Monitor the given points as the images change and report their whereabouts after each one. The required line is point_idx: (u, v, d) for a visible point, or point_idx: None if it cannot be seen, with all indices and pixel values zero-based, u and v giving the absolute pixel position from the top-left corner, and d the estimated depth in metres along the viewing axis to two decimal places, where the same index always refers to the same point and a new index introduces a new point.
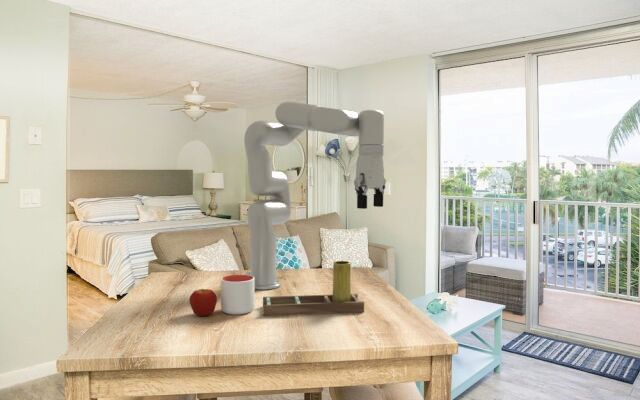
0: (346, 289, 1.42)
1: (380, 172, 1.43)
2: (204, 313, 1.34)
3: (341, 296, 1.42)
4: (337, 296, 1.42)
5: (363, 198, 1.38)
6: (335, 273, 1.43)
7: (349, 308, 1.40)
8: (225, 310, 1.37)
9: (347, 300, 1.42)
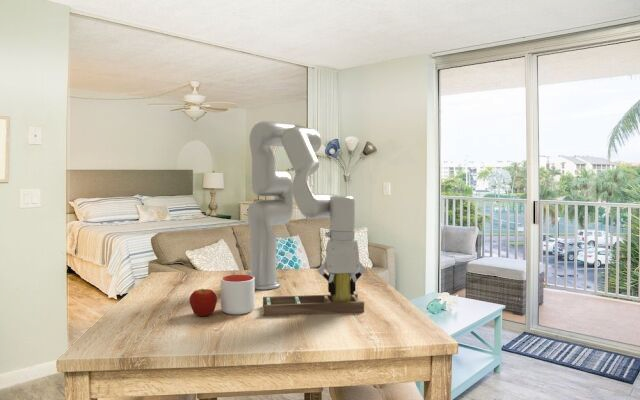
0: (346, 289, 1.42)
1: None
2: (204, 313, 1.34)
3: (341, 296, 1.42)
4: (337, 296, 1.42)
5: None
6: None
7: (349, 308, 1.40)
8: (225, 310, 1.37)
9: (347, 300, 1.42)
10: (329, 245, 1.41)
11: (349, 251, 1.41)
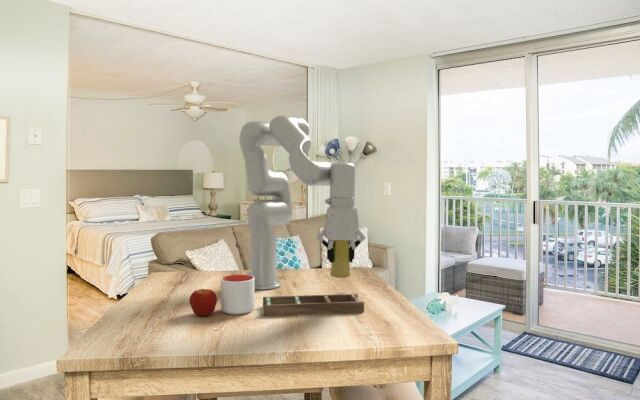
0: (345, 256, 1.42)
1: None
2: (204, 313, 1.34)
3: (340, 263, 1.42)
4: (336, 263, 1.42)
5: None
6: None
7: (349, 308, 1.40)
8: (225, 310, 1.37)
9: (346, 267, 1.42)
10: (329, 212, 1.40)
11: (349, 218, 1.41)
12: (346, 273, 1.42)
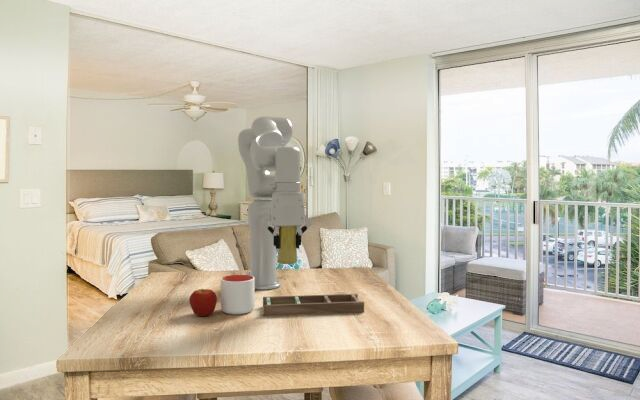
0: (291, 242, 1.39)
1: None
2: (204, 313, 1.34)
3: (286, 249, 1.39)
4: (282, 249, 1.39)
5: None
6: None
7: (349, 308, 1.40)
8: (225, 310, 1.37)
9: (292, 253, 1.39)
10: (273, 197, 1.38)
11: (294, 203, 1.38)
12: (293, 259, 1.39)
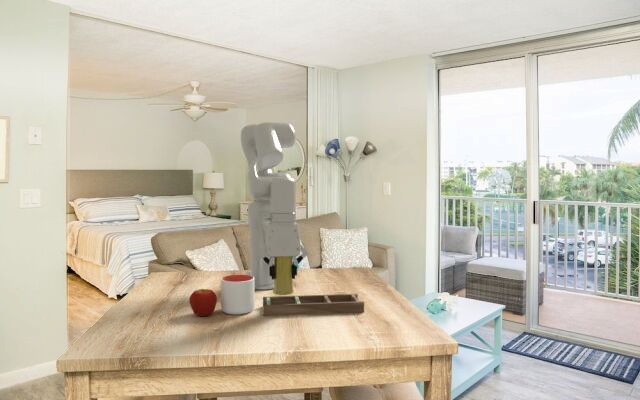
0: (287, 273, 1.39)
1: None
2: (204, 313, 1.34)
3: (281, 280, 1.39)
4: (277, 280, 1.39)
5: None
6: None
7: (349, 308, 1.40)
8: (225, 310, 1.37)
9: (288, 284, 1.39)
10: (269, 228, 1.38)
11: (289, 234, 1.38)
12: (288, 290, 1.39)
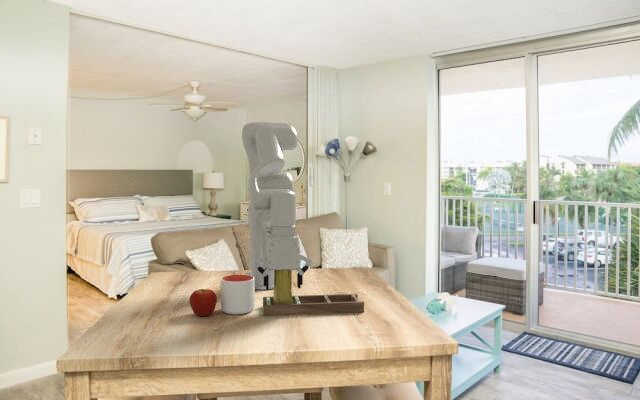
0: (286, 290, 1.40)
1: None
2: (204, 313, 1.34)
3: (281, 297, 1.39)
4: (277, 297, 1.40)
5: None
6: (275, 274, 1.40)
7: (349, 308, 1.40)
8: (225, 310, 1.37)
9: (287, 301, 1.40)
10: (269, 241, 1.38)
11: (289, 247, 1.38)
12: None
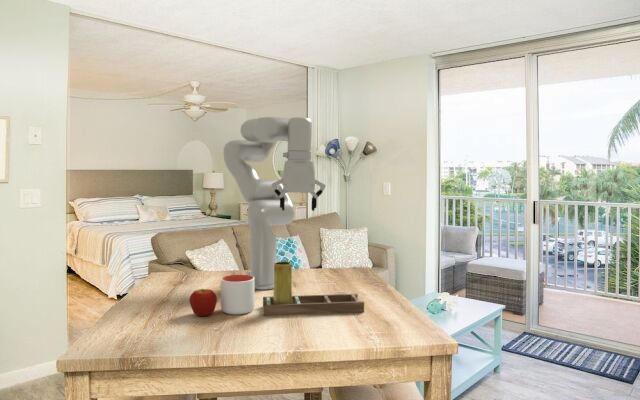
0: (286, 290, 1.40)
1: None
2: (204, 313, 1.34)
3: (281, 297, 1.39)
4: (277, 297, 1.40)
5: None
6: (275, 274, 1.40)
7: (349, 308, 1.40)
8: (225, 310, 1.37)
9: (287, 301, 1.40)
10: (285, 164, 1.47)
11: (304, 170, 1.47)
12: None
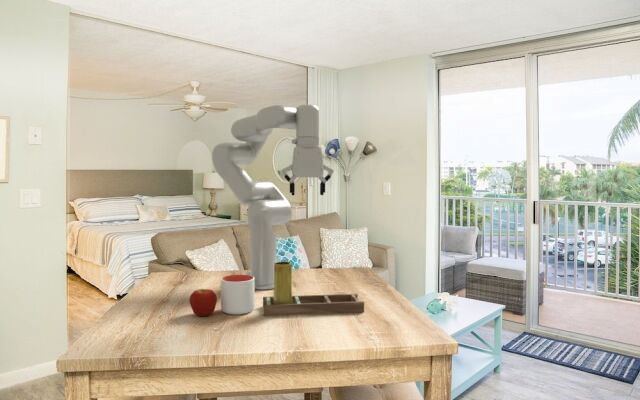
0: (286, 290, 1.40)
1: None
2: (204, 313, 1.34)
3: (281, 297, 1.39)
4: (277, 297, 1.40)
5: None
6: (275, 274, 1.40)
7: (349, 308, 1.40)
8: (225, 310, 1.37)
9: (287, 301, 1.40)
10: (295, 150, 1.52)
11: (313, 156, 1.52)
12: None
